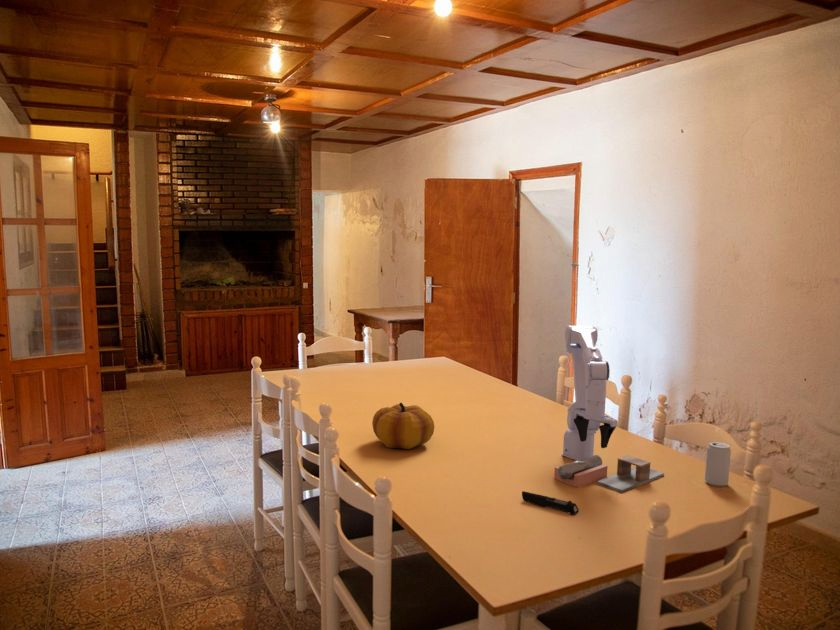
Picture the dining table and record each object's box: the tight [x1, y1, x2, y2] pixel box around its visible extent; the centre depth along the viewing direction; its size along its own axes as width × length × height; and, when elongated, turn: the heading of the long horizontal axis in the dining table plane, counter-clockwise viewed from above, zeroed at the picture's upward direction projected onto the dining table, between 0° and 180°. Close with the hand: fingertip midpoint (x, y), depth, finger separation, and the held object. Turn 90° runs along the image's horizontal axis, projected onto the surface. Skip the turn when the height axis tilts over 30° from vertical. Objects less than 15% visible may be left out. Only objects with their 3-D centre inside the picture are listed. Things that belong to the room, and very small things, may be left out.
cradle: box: [553, 458, 608, 488], centre depth 194 cm, size 9×14×4 cm, turn 129°
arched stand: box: [596, 454, 665, 494], centre depth 193 cm, size 8×22×6 cm, turn 129°
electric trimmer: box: [521, 491, 579, 516], centre depth 173 cm, size 4×16×3 cm, turn 57°
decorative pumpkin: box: [371, 402, 435, 450], centre depth 223 cm, size 20×22×15 cm
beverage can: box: [704, 441, 732, 488], centre depth 191 cm, size 6×6×12 cm
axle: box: [558, 454, 603, 480], centre depth 194 cm, size 16×4×4 cm, turn 129°
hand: (593, 444), depth 197 cm, fingers open, 7 cm apart
